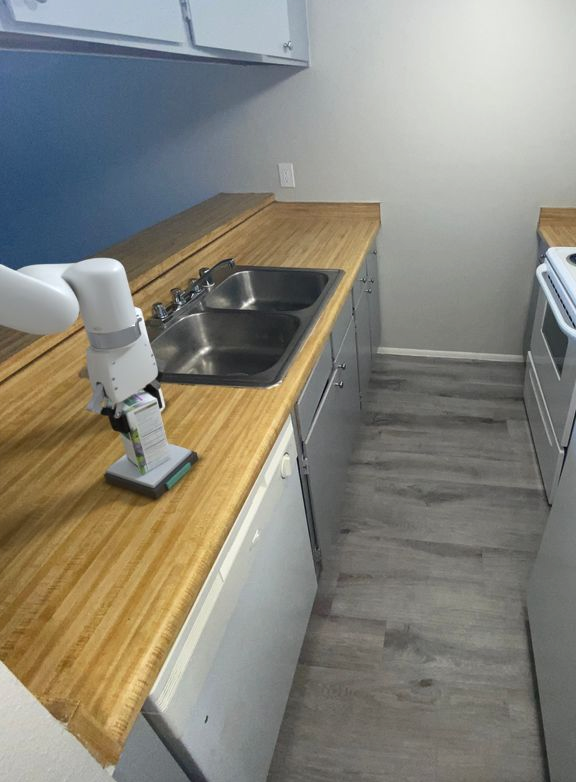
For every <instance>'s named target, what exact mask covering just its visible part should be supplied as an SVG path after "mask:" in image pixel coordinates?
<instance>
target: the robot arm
mask: <svg viewBox="0 0 576 782" xmlns="http://www.w3.org/2000/svg"><path fill="white" fill-rule="evenodd" d="M135 307H136V306H135V304H134V300H133V296H132V292H131V289H130V284H129V281H128V277H127V272H126V270H125V267H124V265H123V264H122V263H121V262H120V261H119V260H117V259H114V258H109V257H95V258H94V257H93V258H88V259H84V260H81V261H78V262H72V263H42V264H41V263H40V264H31V265H30V264H29V265H26V266H23V267H21V268H18V269H17V270H14V269H13V268H10V267H8V266H6V265H4V264H1V263H0V326H2V327H5V328H9V329H13V330H15V331H18V332H22V333H27V334H30V335H31V334H32V335H39V336H52V335H57V334H61V333H64V332H65V331H67V330H69V329H70V328H71V327H72V326H73V325H74V324H75V323H76V321H77V320H78V318H79V314H80V317H81V321H82V323H83V324H82V325H83V327H84V330H85V333H86V336H87V340H88V343H89V346H87V347H86V349H85V363H86V368H87V375H88V379H89V383H90V387H91V390H92V395H91V397H90V399H89V400H88V403H87V405H86V407H85V410H86V411H88V412H92V413H95V414H98V415H102V416H105V417H108V420H109V423H110V426H111V429H112V430H113V431H115V432H117V433H120V432H121V433H124V434H128V433H129V432H130V428H129V425H128V422H127V419H126V415H125V414H122V407H123V401H124V400H125V399H126V398H128V397H130V396H131V395H133V394H134V393H136V392H137V391H139V390H140V389H141V388H143V387H144V386H145V387H144V388H143V390H145V391H146V392H148V393H149V394H151V395H152V396H153V397H155V398H157V401H158V405H159V409H161V408H162V407H163V406H162V402H161V397H160V394H159V389H160V388H161V387H162V384H161V381H162V379H163V376H164V373H163V372H164V370H165V367H166V365H167V361H166V360H162V359H159V358H156V357H155V355H154V352H153V349H152V347H151V343H150V341H149V342H148V340H147V338H146V336H145V334H144V333H143V332H142V331H141V330H140V327H139V322H140V321H142V318H141V316H140V315H136V311H135ZM149 343H150V344H149ZM161 389H162V388H161ZM103 400H104V401H103ZM102 402H103V406H102ZM113 403H115V405H114V409H113V407H112V404H113Z"/></svg>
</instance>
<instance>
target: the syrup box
mask: <svg viewBox="0 0 576 782" xmlns="http://www.w3.org/2000/svg"><path fill="white" fill-rule="evenodd" d="M114 405H115V403H113V404H112V409H114ZM122 414H125V415H126V419H127V422H128V425H129V428H130V432H129V433H128V434H124V433H121V432H119V435H120V439H121V442H122V445H123V449H124V452H125V454H126V455H127V459H128V462H129V463H130V464H132V465H133V466H134V467H135V468H136V469H137V470H139V471H140V472H141V473H142V474H146V473H147V472H149V471H151V470H152V469H154V468H156V467H157V466H159V465H160V464H162V463H164V462H165V461H167V460H168V459H170V458H171V455H170V451H169V447H168V443H169V442H168V439H167V434H166V431H165V427H164V422H163V418H162V412H160V409H159V405H158V401H157V398H155V397H153V396H152V395H151V394H149V393H148V392H146V391H145V390H143V389H142V388H141V389H140V390H139V391H137V392H136V393H134V394H133V395H131V396H130V397H128V398H126V399H125V400H124V401H123V407H122Z"/></svg>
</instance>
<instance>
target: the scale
mask: <svg viewBox="0 0 576 782" xmlns="http://www.w3.org/2000/svg"><path fill="white" fill-rule="evenodd" d="M168 447H169V451H170V455H171V458H170V459H168V460H167V461H165V462H164V463H162V464H160V465H159V466H157V467H156V468H154V469H152V470H151V471H149V472H147V473H146V474H142V473H141V472H140V471H139V470H137V469H136V468H135V467H134V466H133V465H132V464H130V463H129V462H128V459H127V455H126V453H125V454H123V456H121V457H120V458H119V459H117V460H116V461H115V462H113V463H112V464H111V465H110V466H109V467H107V468H106V469H105V473H104V474H103V476H104V479H105V482H106V483H107V484H110V485H113V486H115V487H118V488H121V489H125V490H128V491H130V492H133V493H136V494H139V495H143V496H145V497H148V498H151V499H153V500H159V499H160V498H161V497H162V496H163V495H164V494H165V493H166V492H167V491H168V490H170V489H171V488H172V487H173V486H175V484H176V483H178V481H180V479H182V477H184V476H185V474H187V473H188V472H189V471H190V470H191V469H192V467H193V466H194V465H195V464H196V463H197V462H198V461H199V456H198V452H196V451H193V450H192V449H189V448H186V447H182V446H179V445H175V444H172V443H169V442H168Z"/></svg>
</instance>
